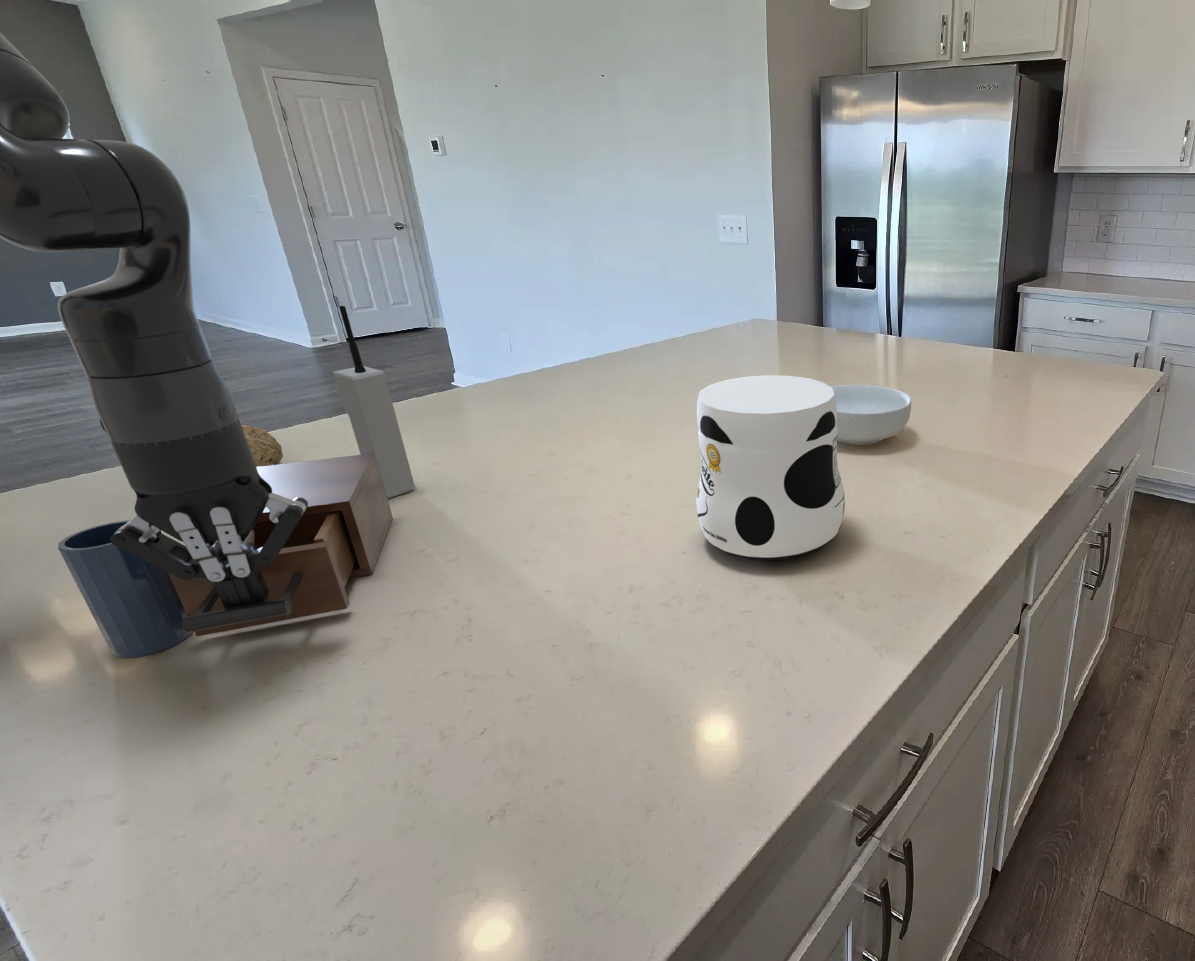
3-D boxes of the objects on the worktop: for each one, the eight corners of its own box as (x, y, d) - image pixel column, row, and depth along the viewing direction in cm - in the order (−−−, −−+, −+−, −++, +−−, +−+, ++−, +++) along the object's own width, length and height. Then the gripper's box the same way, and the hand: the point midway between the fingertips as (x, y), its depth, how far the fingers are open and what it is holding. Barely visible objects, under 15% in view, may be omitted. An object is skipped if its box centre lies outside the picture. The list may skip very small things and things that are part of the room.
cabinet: (372, 574, 76) (349, 501, 72) (224, 600, 71) (192, 522, 67) (393, 517, 88) (374, 452, 84) (268, 536, 83) (243, 468, 80)
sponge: (282, 503, 94) (305, 430, 109) (247, 457, 89) (275, 387, 104) (167, 536, 91) (206, 456, 105) (123, 489, 86) (170, 412, 100)
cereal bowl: (904, 459, 108) (906, 415, 105) (799, 452, 110) (798, 409, 107) (913, 424, 123) (915, 385, 120) (821, 418, 125) (821, 380, 123)
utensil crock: (99, 664, 61) (42, 555, 57) (129, 629, 66) (78, 526, 62) (180, 649, 64) (131, 542, 59) (204, 616, 68) (160, 515, 64)
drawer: (332, 644, 63) (309, 578, 60) (167, 678, 58) (134, 608, 56) (371, 546, 79) (355, 491, 77) (245, 566, 75) (222, 508, 72)
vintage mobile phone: (396, 482, 98) (345, 301, 88) (416, 489, 96) (366, 304, 86) (367, 491, 95) (312, 305, 85) (387, 499, 93) (332, 309, 83)
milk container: (674, 532, 85) (658, 389, 78) (790, 494, 95) (786, 365, 88) (750, 591, 73) (740, 429, 66) (874, 542, 83) (877, 396, 76)
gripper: (291, 400, 60) (348, 574, 67) (87, 419, 55) (172, 604, 62) (264, 427, 54) (331, 615, 61) (32, 451, 49) (133, 653, 56)
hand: (250, 609), depth 61 cm, fingers closed
